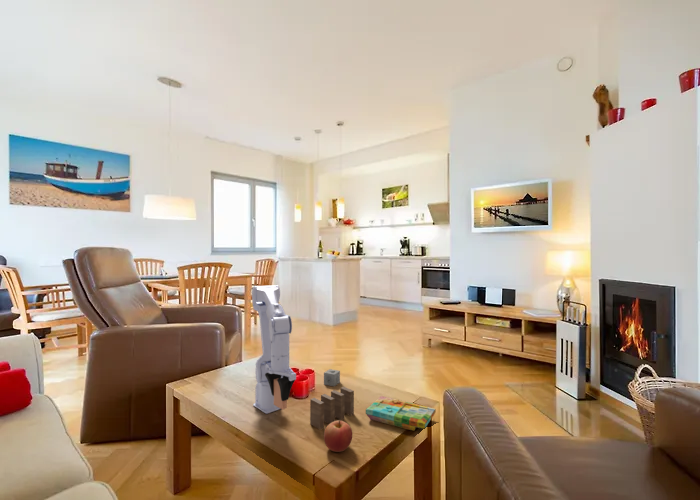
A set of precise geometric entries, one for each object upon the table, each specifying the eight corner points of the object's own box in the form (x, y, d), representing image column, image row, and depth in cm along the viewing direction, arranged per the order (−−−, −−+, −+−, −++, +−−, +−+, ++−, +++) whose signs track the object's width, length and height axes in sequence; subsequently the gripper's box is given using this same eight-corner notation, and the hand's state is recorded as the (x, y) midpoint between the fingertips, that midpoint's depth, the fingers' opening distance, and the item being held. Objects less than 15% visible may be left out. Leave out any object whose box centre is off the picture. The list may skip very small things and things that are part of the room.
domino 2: (320, 429, 106) (320, 404, 106) (310, 424, 110) (310, 399, 110) (324, 428, 108) (324, 402, 108) (314, 422, 111) (314, 397, 111)
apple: (355, 442, 99) (355, 415, 99) (348, 458, 91) (348, 428, 91) (329, 439, 101) (329, 412, 101) (320, 454, 93) (320, 425, 93)
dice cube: (334, 386, 141) (334, 374, 141) (323, 384, 143) (323, 372, 143) (339, 382, 146) (339, 370, 146) (329, 380, 148) (329, 369, 148)
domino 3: (330, 424, 109) (330, 399, 110) (320, 419, 113) (320, 395, 113) (334, 423, 111) (334, 398, 111) (324, 417, 114) (324, 393, 114)
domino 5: (350, 415, 116) (350, 392, 116) (340, 410, 119) (340, 387, 119) (353, 414, 117) (353, 390, 117) (343, 409, 120) (343, 386, 120)
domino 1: (282, 409, 106) (282, 383, 106) (273, 404, 110) (273, 379, 110) (286, 408, 107) (286, 382, 107) (277, 403, 111) (278, 378, 111)
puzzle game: (380, 394, 123) (435, 406, 113) (380, 407, 123) (435, 420, 113) (365, 406, 113) (425, 421, 103) (365, 421, 113) (425, 437, 103)
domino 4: (340, 420, 113) (340, 395, 113) (330, 415, 116) (330, 391, 116) (344, 418, 114) (344, 394, 114) (334, 413, 117) (334, 390, 117)
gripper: (257, 352, 111) (257, 394, 111) (282, 362, 101) (282, 408, 101) (276, 347, 116) (276, 388, 116) (301, 357, 106) (301, 401, 106)
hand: (280, 397), depth 109 cm, fingers closed on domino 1, 5 cm apart
